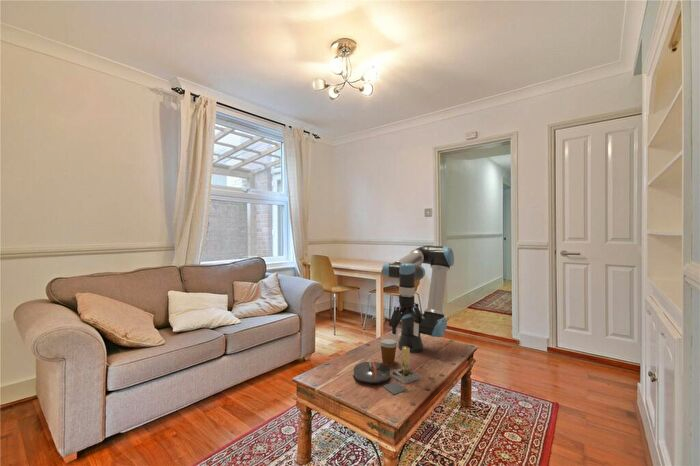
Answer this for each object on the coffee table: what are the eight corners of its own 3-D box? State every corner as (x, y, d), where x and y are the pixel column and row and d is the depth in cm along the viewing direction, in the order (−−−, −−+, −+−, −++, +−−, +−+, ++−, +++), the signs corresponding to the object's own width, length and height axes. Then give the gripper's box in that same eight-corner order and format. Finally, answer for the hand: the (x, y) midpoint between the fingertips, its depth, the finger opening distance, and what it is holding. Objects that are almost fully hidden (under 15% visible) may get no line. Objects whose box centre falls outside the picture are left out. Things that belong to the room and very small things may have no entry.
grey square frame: (405, 371, 154) (406, 366, 154) (418, 379, 146) (418, 374, 146) (392, 375, 149) (392, 371, 149) (404, 384, 141) (404, 379, 141)
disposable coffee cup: (396, 367, 158) (396, 345, 158) (378, 365, 160) (378, 343, 160) (397, 359, 167) (397, 338, 167) (380, 358, 169) (380, 337, 169)
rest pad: (395, 382, 143) (395, 381, 143) (407, 390, 136) (407, 389, 136) (382, 386, 139) (382, 385, 139) (393, 395, 132) (393, 394, 132)
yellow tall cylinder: (405, 374, 150) (406, 345, 150) (410, 378, 147) (411, 348, 147) (399, 376, 148) (400, 346, 148) (405, 380, 145) (405, 349, 145)
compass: (351, 365, 156) (352, 352, 156) (385, 364, 158) (386, 351, 157) (355, 384, 138) (355, 369, 138) (393, 382, 140) (394, 367, 140)
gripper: (419, 291, 156) (418, 331, 157) (381, 296, 143) (381, 340, 144) (430, 294, 150) (429, 335, 150) (392, 299, 137) (391, 345, 137)
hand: (405, 338), depth 147 cm, fingers open, 13 cm apart
